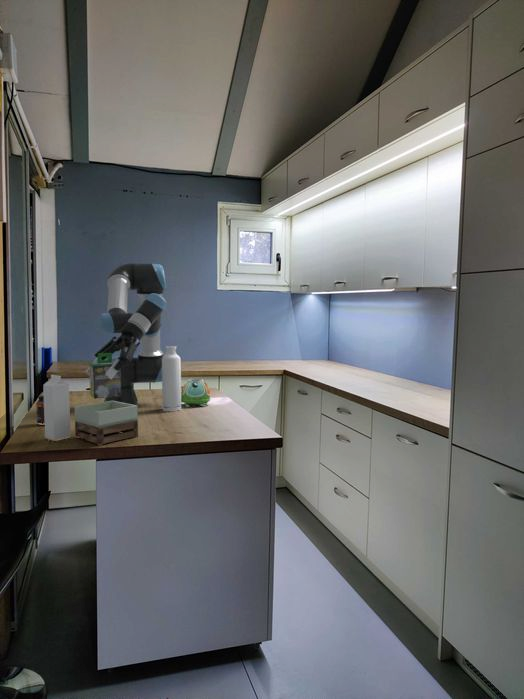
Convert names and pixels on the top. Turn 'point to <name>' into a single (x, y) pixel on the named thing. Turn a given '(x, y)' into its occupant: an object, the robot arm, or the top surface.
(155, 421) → the top surface
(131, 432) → the lower crate
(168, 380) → the bottle
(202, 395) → the turtle holder
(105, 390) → the chalk box
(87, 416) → the box
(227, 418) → the top surface
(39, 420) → the supplement bottle
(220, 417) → the top surface
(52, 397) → the milk
